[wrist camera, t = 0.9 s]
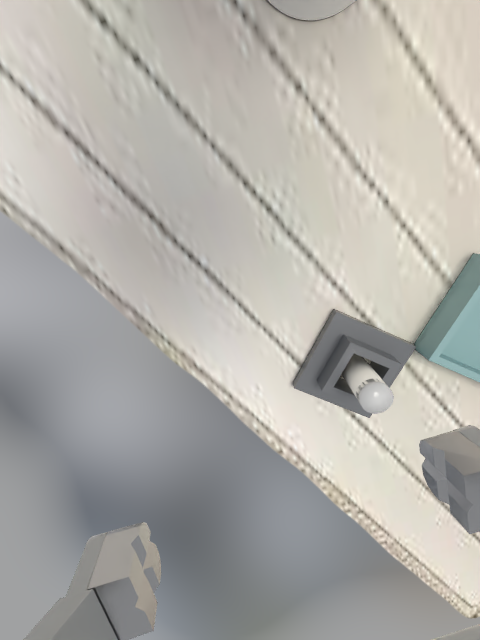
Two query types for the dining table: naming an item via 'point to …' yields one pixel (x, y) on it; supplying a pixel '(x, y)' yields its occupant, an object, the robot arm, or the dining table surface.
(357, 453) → the dining table surface
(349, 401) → the grey square socket
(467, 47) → the dining table surface
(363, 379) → the cylinder
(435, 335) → the parts tray
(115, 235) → the dining table surface
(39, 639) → the robot arm
